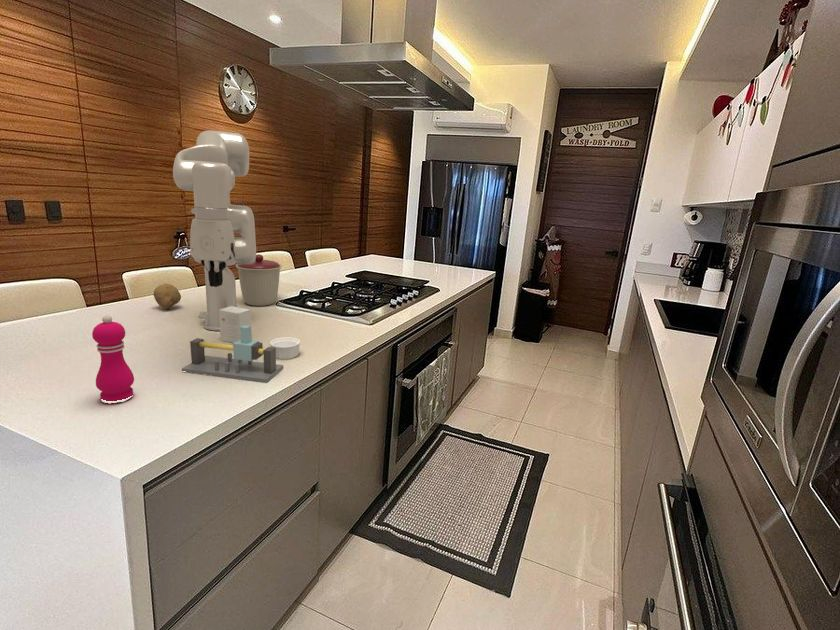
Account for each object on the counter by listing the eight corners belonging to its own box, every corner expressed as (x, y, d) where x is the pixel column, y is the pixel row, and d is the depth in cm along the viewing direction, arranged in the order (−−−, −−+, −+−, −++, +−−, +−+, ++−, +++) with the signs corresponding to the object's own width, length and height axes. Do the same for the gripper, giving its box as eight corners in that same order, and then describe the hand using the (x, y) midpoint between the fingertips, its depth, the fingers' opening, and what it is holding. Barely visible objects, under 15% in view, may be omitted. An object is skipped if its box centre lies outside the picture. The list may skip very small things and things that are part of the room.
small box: (252, 339, 144) (251, 309, 141) (240, 344, 139) (238, 313, 136) (232, 335, 146) (231, 305, 143) (220, 340, 141) (218, 309, 138)
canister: (274, 310, 178) (273, 259, 173) (230, 307, 178) (227, 255, 173) (287, 299, 196) (287, 253, 190) (247, 296, 196) (245, 250, 190)
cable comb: (181, 371, 117) (179, 342, 114) (204, 358, 126) (202, 331, 124) (266, 382, 114) (265, 353, 112) (283, 368, 123) (282, 340, 121)
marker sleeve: (233, 359, 117) (232, 327, 114) (242, 353, 121) (241, 323, 118) (251, 361, 116) (250, 329, 114) (259, 355, 120) (258, 325, 118)
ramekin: (283, 362, 128) (283, 349, 126) (263, 355, 132) (263, 341, 131) (306, 354, 135) (306, 341, 134) (286, 347, 139) (286, 335, 138)
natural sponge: (175, 304, 176) (173, 280, 173) (186, 309, 171) (184, 284, 169) (151, 308, 169) (148, 283, 166) (162, 313, 164) (159, 287, 161)
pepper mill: (110, 390, 104) (99, 310, 99) (142, 391, 105) (133, 311, 99) (90, 405, 97) (78, 319, 92) (125, 406, 98) (114, 321, 92)
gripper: (174, 212, 106) (180, 285, 112) (231, 218, 105) (235, 292, 110) (193, 211, 114) (198, 279, 119) (247, 216, 112) (250, 285, 117)
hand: (216, 285), depth 115 cm, fingers closed
